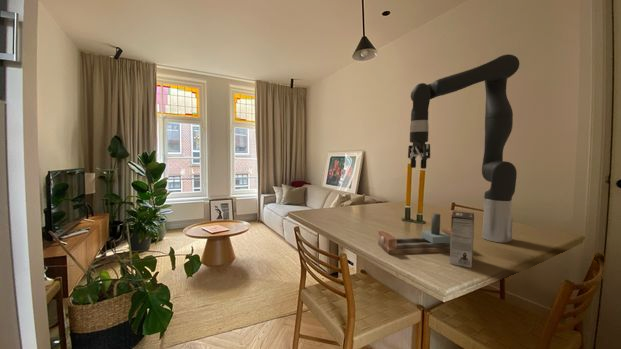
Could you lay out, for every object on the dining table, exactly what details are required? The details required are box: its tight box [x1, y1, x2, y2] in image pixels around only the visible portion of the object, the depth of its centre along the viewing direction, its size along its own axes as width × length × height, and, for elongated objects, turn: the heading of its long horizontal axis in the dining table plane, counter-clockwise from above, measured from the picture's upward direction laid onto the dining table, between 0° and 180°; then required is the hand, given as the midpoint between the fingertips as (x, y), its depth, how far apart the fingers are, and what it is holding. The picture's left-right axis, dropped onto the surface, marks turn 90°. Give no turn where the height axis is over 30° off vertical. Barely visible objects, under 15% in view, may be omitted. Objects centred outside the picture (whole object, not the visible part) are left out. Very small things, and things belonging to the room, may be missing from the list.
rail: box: [377, 228, 451, 255], centre depth 95 cm, size 31×10×6 cm, turn 96°
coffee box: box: [449, 211, 475, 269], centre depth 83 cm, size 9×6×16 cm
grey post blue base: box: [420, 213, 451, 244], centre depth 95 cm, size 7×8×10 cm
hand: (418, 168), depth 110 cm, fingers open, 8 cm apart
